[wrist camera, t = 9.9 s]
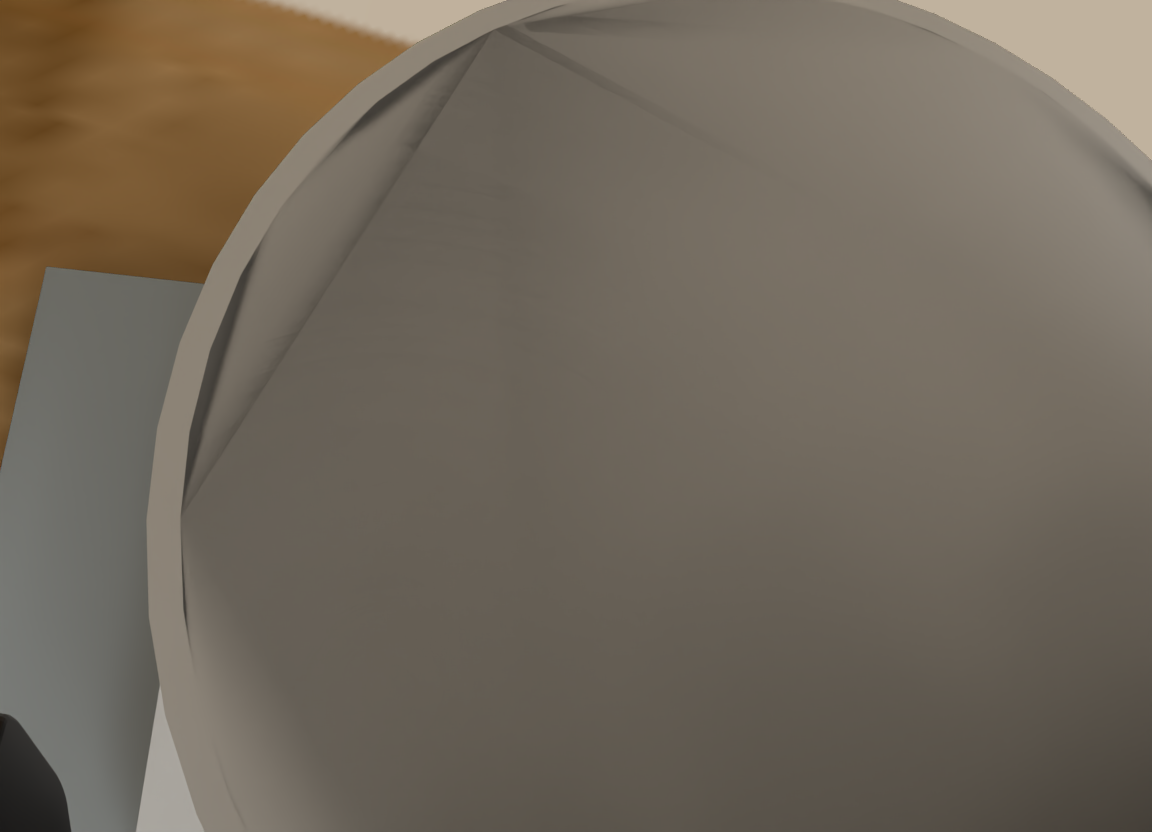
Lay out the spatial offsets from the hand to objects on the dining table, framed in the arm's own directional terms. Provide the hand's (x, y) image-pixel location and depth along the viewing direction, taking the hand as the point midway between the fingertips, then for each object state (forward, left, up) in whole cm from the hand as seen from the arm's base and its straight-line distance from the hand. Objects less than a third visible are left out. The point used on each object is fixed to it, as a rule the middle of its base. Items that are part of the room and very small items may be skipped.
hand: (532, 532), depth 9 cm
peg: (-1, 0, -7) cm, 7 cm away
